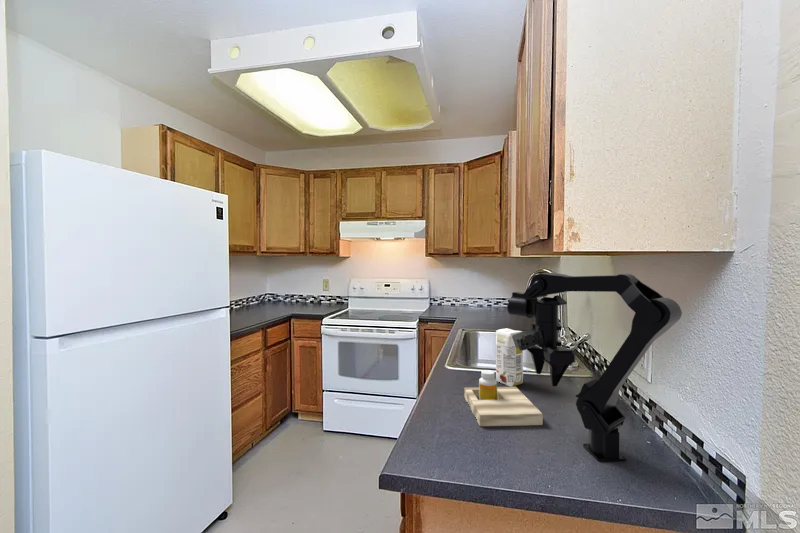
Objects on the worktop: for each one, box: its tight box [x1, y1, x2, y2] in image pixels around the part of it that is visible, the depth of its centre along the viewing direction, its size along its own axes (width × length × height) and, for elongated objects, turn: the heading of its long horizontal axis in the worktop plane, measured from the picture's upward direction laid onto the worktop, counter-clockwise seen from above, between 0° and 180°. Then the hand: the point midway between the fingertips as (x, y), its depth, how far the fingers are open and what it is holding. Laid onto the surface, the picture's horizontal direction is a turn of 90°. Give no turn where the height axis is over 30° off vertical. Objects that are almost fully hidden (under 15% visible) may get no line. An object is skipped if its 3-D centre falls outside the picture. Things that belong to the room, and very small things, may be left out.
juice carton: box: [495, 327, 524, 387], centre depth 125 cm, size 8×9×19 cm
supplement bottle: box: [478, 369, 498, 400], centre depth 107 cm, size 5×5×10 cm
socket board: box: [463, 386, 544, 427], centre depth 103 cm, size 20×17×3 cm
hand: (546, 379), depth 91 cm, fingers open, 9 cm apart
